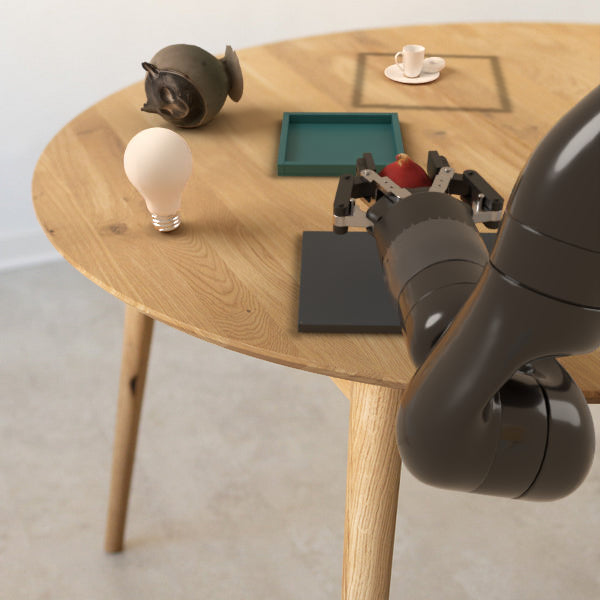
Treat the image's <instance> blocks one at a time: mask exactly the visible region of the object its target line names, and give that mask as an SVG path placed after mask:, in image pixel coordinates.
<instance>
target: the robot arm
mask: <svg viewBox="0 0 600 600" xmlns="http://www.w3.org/2000/svg"><path fill="white" fill-rule="evenodd" d="M426 162H427V163H426V173H427V175H428V176H429V177H430V179H431V181H432V183H433V184H432V187H419V188H400V187H399V186H398V185H397V184H396V183H394V182H393V181H392V180H391V179H389V178H388V177H387V176H386V177H382V178H381V177H380V176H379V175H378V174H377V173H376V167H375V163H374V160H373V157H372V153H363V158H358V159H357V161H356V177H354V175H352V174H348V173H347V174H342V175H341V176H339V180H338V184H337V187H336V191H335V196H334V200H333V205H332V231H333V232H334V233H335V234H338V235H343V234H346V233H347V232H348V231H349V227H351V228H364V229H365V230H366V232H368V233H369V234H370V235H372V236H373V237H374V238H375V241H376V246H377V249H378V253H379V257H380V261H381V265H382V269H383V273H384V277H383V278H384V282H385V287H386V290H387V291H388V293H389V296H390V299H391V302H392V304H393V307H394V309H395V310H396V312H397V314H398V317H399V320H400V324H401V328H402V332H403V334H402V335H403V339H404V344H405V348H406V351H407V354H408V357H409V359H410V362H411V363H412V366H413V367H414V369H415V371H414V373H413V374H412V376H411V378H410V379H409V381H408V382H407V384H406V387H405V389H404V391H403V393H402V396H401V398H400V401H399V405H398V409H397V413H396V417H395V426H394V427H395V429H394V430H395V431H394V433H395V434H394V435H395V443H396V448H397V452H398V454H399V457H400V460H401V461H402V463H403V465H404V468H405V469H406V470H407V472H408V473H409V474H410V475H411V476H412V477H413V478H414V479H416V480H417V481H418V482H420V483H421V484H424V485H426V486H429V487H431V488H435V489H439V490H445V491H451V492H459V493H467V494H473V495H474V494H475V495H481V496H487V497H495V498H503V499H511V500H514V501H515V500H516V501H522V502H531V503H551V502H552V503H553V502H556V501H560V500H563V499H566V498H567V497H568V498H569V496H571V495H572V494H574V493H575V492H576V491H577V490H578V489H579V488H580V487H582V485H583V484H584V483H585V481H586V479H587V478H588V475H589V474H590V472H591V470H592V467H593V464H594V458H595V453H596V431H595V424H594V419H593V415H592V412H591V409H590V407H589V404H588V401H587V399H586V397H585V395H584V393H583V391H582V390H581V388H580V386H579V384H578V383H577V382H576V380H575V379H574V378H573V376H572V375H571V374H570V372H568V370H567V369H566V368H565V367H564V365H563V364H562V363H561V362H560V361H559V360H558V359H557V358H568V357H575V356H583V355H587V354H590V353H593V352H595V351H596V350H598V349H599V348H600V83H599V84H598V85H596V86H595V87H594V88H593V89H592V90H590V91H589V92H588V93H587V94H586V95H584V96H583V97H582V98H581V99H580V100H579V101H578V102H576V103H575V104H574V105H573V106H572V107H570V109H568V110H567V112H565V113H564V114H563V115H562V116H561V117H560V118H559V119H558V120H557V121H556V122H555V123H554V124H553V125H552V126H551V127H550V128H549V130H547V132H546V133H545V134H544V135H543V136H542V137H541V138H540V140H539V142H538V143H537V144H536V146H535V147H534V148H533V149H532V151H531V153H530V154H529V155H528V157H527V159H526V161H525V162H524V163H523V166H522V168H521V170H520V171H519V173H518V175H517V178H516V180H515V183H514V185H513V187H512V188H511V192H510V195H509V197H508V200H507V202H506V206H505V209H504V205H505V204H504V203H505V199H504V197H503V196H502V195H501V194H500V193H499V192H498V191H497V190H496V189H495V188H494V187H492V185H491V184H490V183H489V182H488V181H487V180H486V179H485V178H484V177H483V176H482V175H481V174H480V172H479V173H478V172H477V171H476V170H474V169H464V170H463V171H462V173H459V172H456V170H455V168H453V167H452V166H451V165H450V164H449V161H448V159H447V157H446V156H444V155H440V153H439V152H438V150H428V152H427V161H426ZM453 195H455V196H459V199H458V198H456V197H455V196H453ZM356 200H360V201H361V202H362V203H363V204H365V206H367V207H368V208H367V210H366V211H363V210H362V209H361V207H360V206H359V204H356ZM503 209H504V212H503ZM477 224H482V225H483V226H484V227H485V228H486V229H489V230H496V232H495V233H496V236H495V239H494V241H493V244H492V247H491V250H490V252H489V253H488V250H487V248H486V246H485V244H484V242H483V240H482V238H481V235H480V233H481V232H480V231H479V229H478V227H477Z"/></svg>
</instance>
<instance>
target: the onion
mask: <svg viewBox="0 0 600 600" xmlns="http://www.w3.org/2000/svg"><path fill="white" fill-rule="evenodd" d="M396 159H397V160H396V162H393V163H391V164H389V165H387V166H386V167H385V168H383V169H382V170H381V171H380V172H379V173H378V175H379V176H380V177H381V178H382V177H386V176H387V177H388V178H389V179H391V180H392V181H393V182H394V183H396V184H397V185H398V186H399V187H400V188H419V187H432V184H433V183H432V181H431V179H430V177H429V176H428V174H427V171H425V170H424V168H423V167H422V166H421V165H420V164H418V163H417V162H415V161H413V159H412V158H410V156H409V155H408V154H407V153H404V154H403V153H402V154H399V155H397V156H396Z"/></svg>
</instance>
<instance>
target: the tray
mask: <svg viewBox="0 0 600 600" xmlns="http://www.w3.org/2000/svg"><path fill="white" fill-rule="evenodd" d="M399 119H400V117H399V114H398V112H376V111H375V112H370V111H369V112H367V111H366V112H365V111H364V112H358V111H357V112H352V111H349V112H348V111H347V112H345V111H344V112H343V111H341V112H339V111H335V112H334V111H318V112H317V111H283V113H282V120H281V130H280V137H279V145H278V153H277V161H276V162H277V163H276V170H277V171H276V174H277V177H340V176H341V175H342V174H347V173H348V174H352V175H354V177H356V161H357V159H358V158H363V153H372V157H373V160H374V163H375V167H376V173H377V174H378V173H379V172H380V171H381V170H382V169H383V168H385V167H386V166H387V165H389V164H391V163H393V162H396V160H397V159H396V156H397V155H399V154H402V153H403V154H405V150H404V142H403V137H402V130H401V125H400V120H399Z"/></svg>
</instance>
